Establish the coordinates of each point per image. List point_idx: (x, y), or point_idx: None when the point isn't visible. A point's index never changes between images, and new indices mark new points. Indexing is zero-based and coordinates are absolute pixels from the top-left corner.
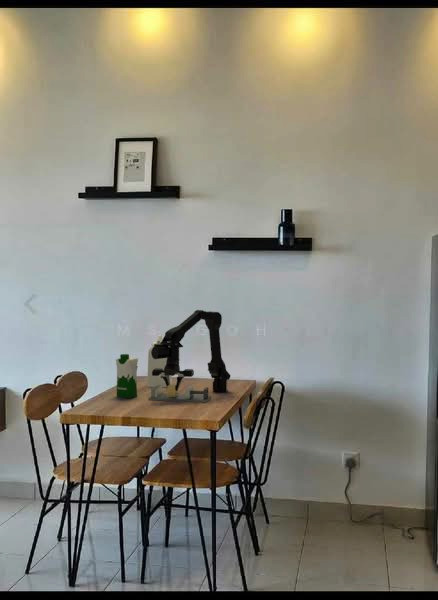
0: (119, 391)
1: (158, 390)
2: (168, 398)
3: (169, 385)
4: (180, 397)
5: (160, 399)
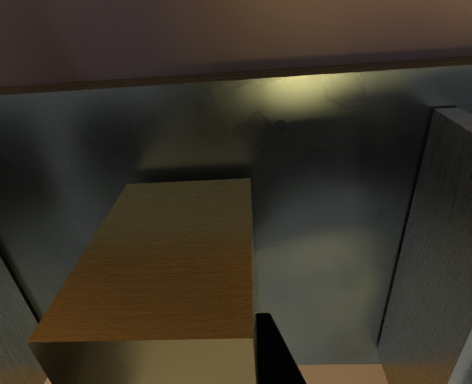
0: None
1: (453, 280)
2: (207, 96)
3: (203, 360)
4: (66, 210)
5: (347, 67)
